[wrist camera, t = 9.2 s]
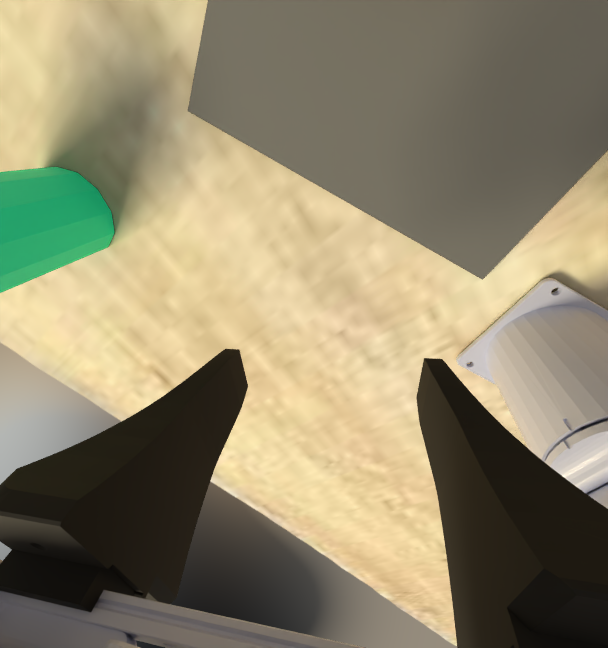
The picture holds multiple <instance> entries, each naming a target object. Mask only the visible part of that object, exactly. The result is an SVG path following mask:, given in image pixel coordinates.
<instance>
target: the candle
mask: <svg viewBox="0 0 608 648" xmlns="http://www.w3.org/2000/svg"><path fill="white" fill-rule="evenodd" d="M114 234H115V231H114V225H113V219H112V213H111V211H110V209H109V207H108V206H107V204H106V202H105V201H104V199H103V197H102V196H101V194H100V192H99V191H98V189H97V188H95V187H94V186H93V185H92V184H91V183H89V182H88V181H87V180H86V179H85V178H83V177H82V176H81V175H80V174H79V173H77V172H74V171H70V170H67V169H63V168H59V167H48V168H38V169H27V170H17V171H7V172H0V293H1V292H4V291H6V290H8V289H11V288H13V287H15V286H18V285H20V284H23V283H25V282H27V281H30V280H32V279H34V278H37V277H39V276H41V275H44V274H46V273H48V272H51V271H53V270H56V269H58V268H60V267H63V266H65V265H67V264H70V263H72V262H74V261H77V260H79V259H81V258H84V257H86V256H89V255H91V254H93V253H96V252H98V251H100V250H103V249H105V248H107V247H109V244H110V242H111V240H112V238H113V236H114Z"/></svg>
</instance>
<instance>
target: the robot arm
mask: <svg viewBox="0 0 608 648" xmlns="http://www.w3.org/2000/svg"><path fill="white" fill-rule="evenodd" d="M555 288H558V290H557V291H555V292H553V293H551V291H552V290H553V289H555ZM456 361H457V363H458V365H460V366H461V367H463V368H465V369H467V370H469V371H471V372H473V373H475V374H476V375H478V376H480V377H482V378H484V379H486V380H488V381H490V382H491V383H493V384H495V385H496V386H497V387H498V389H499V391H500V393H501V395H502V397H503V399H504V401H505V403H506V405H507V407H508V409H509V411H510V413H511V415H512V417H513V419H514V421H515V423H516V425H517V427H518V429H519V431H520V433H521V435H522V437H523V439H524V441H525V442H526V444H527V446H528V448H529V449H528V448H527V447H526V446H524V445H523V444H522V443H521V442H520V441H519V440H518V439H516V438H515V437H514V436H513V435H512V434H511V433H510V432H509V431H508V430H506V429H505V428H504V427H503V426H502V425H501V424H500V423H499V422H498V421H497V420H496V419H495V418H494V417H493V416H492V415H491V414H490V413H489V412H488V411H487V410H486V409H485V408H484V407H483V405H482V404H481V403H480V402H479V401H478V400H477V399H476V398H475V397H474V396H473V395H472V394H471V392H470V391H469V390H468V389H467V388H466V387H465V386H464V384H463V383H462V382H461V381H460V380H459V379H458V377H457V376H456V375H455V374H454V373H453V371H452V370H451V369H450V368H449V367H448V365H447V364H446V363H445V362H444V361H443V360H442V359H429V358H424V362H423V367H422V372H421V377H420V382H419V388H418V393H417V406H418V414H419V421H420V426H421V430H422V434H423V438H424V442H425V446H426V450H427V454H428V458H429V462H430V466H431V469H432V473H433V477H434V481H435V485H436V490H437V495H438V501H439V507H440V513H441V520H442V526H443V533H444V540H445V547H446V554H447V561H448V569H449V577H450V585H451V593H452V601H453V610H454V620H455V629H456V638H457V648H608V310H606V309H605V308H603V307H601V306H599V305H598V304H596V303H594V302H593V301H591V300H589V299H588V298H586V297H584V296H582V295H581V294H579V293H577V292H576V291H574V290H572V289H571V288H569V287H567V286H566V285H564V284H562V283H560V282H559V281H557V280H555V279H553V278H546V279H543V280H542V281H540V282H539V283H538V284H537V285H536V286H535V287H534V288H533V289H532V290H530V291H529V292H528V293H527V294H526V295H525V296H524V297H523V298H522V299H520V300H519V301H518V302H517V303H516V304H515V305H514V306H513V307H512V308H510V309H509V310H508V311H507V312H506V313H505V314H504V315H503V316H502V317H500V318H499V319H498V320H497V321H496V322H495V323H494V324H493V325H492V326H490V327H489V328H488V329H487V330H486V331H485V332H484V333H483V334H482V335H480V336H479V337H478V338H477V339H476V340H475V341H474V342H473V343H472V344H470V345H469V346H468V347H467V348H466V349H465V350H464V351H463V352H462V353H460V354H459V355H458V356H457V358H456ZM468 362H472V363H471V364H467V363H468ZM247 388H248V384H247V380H246V376H245V372H244V368H243V363H242V359H241V355H240V351H239V350H236V349H225V350H223V351H222V352H221V353H219V354H218V355H217V356H215V357H214V358H213V359H212V360H210V361H209V362H208V363H207V364H205V365H204V366H203V367H202V368H200V369H199V370H198V371H196V372H195V373H194V374H193V375H191V376H190V377H189V378H188V379H186V380H185V381H184V382H182V383H181V384H179V385H178V386H177V387H175V388H174V389H173V390H171V391H170V392H168V393H167V394H166V395H164V396H163V397H161V398H160V399H158V400H157V401H155V402H154V403H152V404H151V405H149V406H148V407H146V408H144V409H143V410H141V411H139V412H138V413H136V414H134V415H133V416H131V417H129V418H127V419H126V420H124V421H122V422H120V423H118V424H116V425H115V426H113V427H111V428H109V429H107V430H105V431H103V432H101V433H99V434H97V435H95V436H93V437H91V438H89V439H87V440H85V441H83V442H81V443H78V444H76V445H74V446H72V447H69V448H67V449H65V450H63V451H60V452H58V453H56V454H53V455H51V456H48V457H46V458H43V459H41V460H38V461H36V462H33V463H31V464H28V465H26V466H23V467H20V468H18V469H16V470H15V471H14V472H13V473H12V474H11V475H10V476H9V477H8V478H7V479H6V480H5V481H4V482H3V483H2V484H1V485H0V541H1V542H2V543H3V544H5V545H6V546H8V547H9V548H11V549H12V551H11V552H10V553H9V554H8V555H7V557H6V558H5V559H4V560H3V561H2V560H0V648H140V647H137V644H136V641H135V640H138V641H142V642H146V643H150V644H154V645H158V646H162V647H166V648H364V647H359V646H355V645H351V644H346V643H342V642H337V641H333V640H328V639H324V638H319V637H315V636H310V635H305V634H301V633H297V632H292V631H288V630H283V629H278V628H274V627H269V626H265V625H260V624H256V623H251V622H247V621H242V620H238V619H233V618H229V617H224V616H219V615H215V614H210V613H206V612H202V611H197V610H192V609H188V608H183V607H179V606H174V605H170V603H172V602H173V601H174V600H175V599H176V597H177V594H178V590H179V585H180V581H181V578H182V574H183V570H184V566H185V562H186V559H187V555H188V551H189V548H190V544H191V541H192V537H193V534H194V530H195V527H196V523H197V520H198V517H199V514H200V510H201V507H202V504H203V501H204V498H205V495H206V492H207V489H208V485H209V483H210V480H211V477H212V474H213V471H214V468H215V466H216V463H217V461H218V459H219V456H220V454H221V452H222V450H223V448H224V445H225V443H226V441H227V439H228V437H229V434H230V432H231V430H232V428H233V426H234V423H235V421H236V419H237V417H238V415H239V412H240V410H241V407H242V404H243V401H244V398H245V395H246V391H247Z"/></svg>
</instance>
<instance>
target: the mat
mask: <svg viewBox="0 0 608 648" xmlns="http://www.w3.org/2000/svg"><path fill="white" fill-rule="evenodd" d="M188 111H189V112H190V113H192V114H194V115H196V116H197V117H199V118H201V119H203V120H204V121H206V122H208V123H210V124H211V125H213V126H215V127H217V128H218V129H220V130H222V131H224V132H225V133H227V134H229V135H231V136H232V137H234V138H236V139H238V140H239V141H241V142H243V143H245V144H246V145H248V146H250V147H252V148H253V149H255V150H257V151H259V152H260V153H262V154H264V155H266V156H267V157H269V158H271V159H273V160H274V161H276V162H278V163H280V164H281V165H283V166H285V167H287V168H288V169H290V170H292V171H294V172H295V173H297V174H299V175H301V176H302V177H304V178H306V179H308V180H309V181H311V182H313V183H315V184H316V185H318V186H320V187H322V188H323V189H325V190H327V191H329V192H330V193H332V194H334V195H336V196H337V197H339V198H341V199H343V200H344V201H346V202H348V203H350V204H351V205H353V206H355V207H357V208H358V209H360V210H362V211H364V212H365V213H367V214H369V215H371V216H372V217H374V218H376V219H378V220H379V221H381V222H383V223H385V224H386V225H388V226H390V227H392V228H393V229H395V230H397V231H398V232H400V233H402V234H404V235H405V236H407V237H409V238H411V239H412V240H414V241H416V242H418V243H419V244H421V245H423V246H425V247H426V248H428V249H430V250H432V251H433V252H435V253H437V254H439V255H440V256H442V257H444V258H446V259H447V260H449V261H451V262H453V263H454V264H456V265H458V266H460V267H461V268H463V269H465V270H467V271H468V272H470V273H472V274H474V275H475V276H477V277H479V278H481V279H482V280H483V279H484V278H485V277H486V276H487V274H488V273H489V272H490V271H491V270H492V269H493V268H494V267H495V266H496V265H497V264H498V263H499V262H500V261H501V260H502V259H503V258H504V257H505V256H506V255H507V254H508V253H509V252H510V251H511V250H512V249H513V248H514V247H515V246H516V244H517V243H518V242H519V241H520V240H521V239H522V238H523V237H524V236H525V235H526V234H527V233H528V232H529V231H530V230H531V229H532V228H533V227H534V226H535V225H536V224H537V223H538V222H539V221H540V220H541V219H542V218H543V217H544V216H545V214H546V213H547V212H548V211H549V210H550V209H551V208H552V207H553V206H554V205H555V204H556V203H557V202H558V201H559V200H560V199H561V198H562V197H563V196H564V195H565V194H566V193H567V192H568V191H569V190H570V189H571V188H572V187H573V186H574V184H575V183H576V182H577V181H578V180H579V179H580V178H581V177H582V176H583V175H584V174H585V173H586V172H587V171H588V170H589V169H590V168H591V167H592V166H593V165H594V164H595V163H596V162H597V161H598V160H599V159H600V158H601V157H602V156H603V154H604V153H605V152H606V151H607V150H608V0H208V4H207V9H206V15H205V20H204V25H203V31H202V36H201V42H200V47H199V53H198V58H197V63H196V69H195V74H194V80H193V85H192V91H191V96H190V101H189V107H188Z"/></svg>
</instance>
